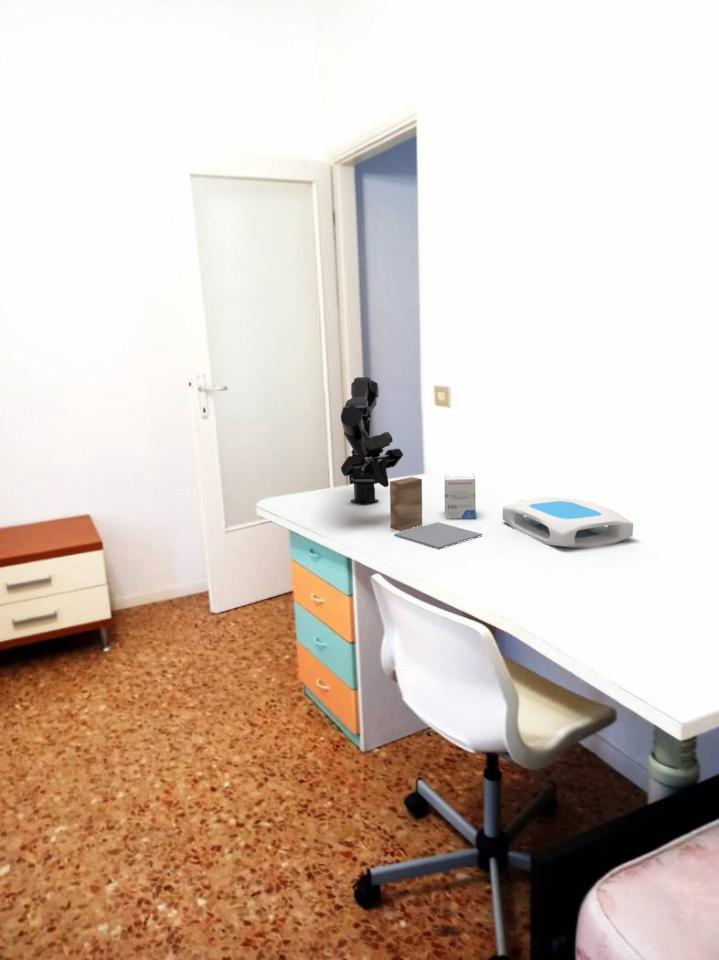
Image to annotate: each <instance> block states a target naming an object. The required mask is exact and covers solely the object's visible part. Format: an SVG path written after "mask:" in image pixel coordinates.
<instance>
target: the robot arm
mask: <svg viewBox="0 0 719 960" xmlns="http://www.w3.org/2000/svg"><path fill="white" fill-rule="evenodd" d="M350 387H351V388H350V395H351V398H350V399H347V400H346V402H345V405H344V406H343V407H342V409H341V414H340V421H341V425H342V428H343V435H344V436H345V438H346V441H347V442H348V443H349V445H350V447H351V449H352V450H351V455H349V456H347V458H346V459H345V460H344V462H343V463H342V464H341V466H340V471H341V473H342V475H343V476H344V477H348V476H349V485H352V484H353V492H354V493H353V495H354V499H350V503H354V502H355V503H354V504H358V503H359V505H362V504H365V505H369V504H374V503H377V502H379V499H377V498H376V487H375V485H377V484H379V485H380V486H382V487H384V488H387V487H388V486H390V481H389V479H388V472H387V469H390V468H394V467H395V466H397V464H398V463H399V462H400V460H401V459H402V457H403V456H404V453H403V451H402V450H401V448H396V447H395V448H391V449H387V451H386V452H385V453H384V454H383V455H381V454H382V453H383V452H384V449H385V448H387V447H389V446H390V445H391V443H393V437H392V435H391V434H390V432H389V431H386V432H385V431H384V432H383V433H381V434H377V435H373V436H372V437H371V435H372V434H371V433H372V415H373V409H375V407H376V405H377V404H378V403H377V399H378V398H379V396H380V395H379V394H380V391H379V389H380V388H379V384H378V382H376V381H375V380H372V379H371V377H367V376H365V377H363V376H362V377H361V376H360V377H359V376H358V377H356V378H354V380H353V382H351V385H350ZM373 502H374V503H373ZM368 503H369V504H368Z"/></svg>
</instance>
